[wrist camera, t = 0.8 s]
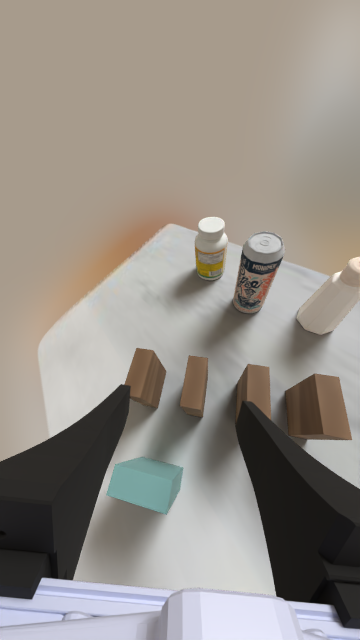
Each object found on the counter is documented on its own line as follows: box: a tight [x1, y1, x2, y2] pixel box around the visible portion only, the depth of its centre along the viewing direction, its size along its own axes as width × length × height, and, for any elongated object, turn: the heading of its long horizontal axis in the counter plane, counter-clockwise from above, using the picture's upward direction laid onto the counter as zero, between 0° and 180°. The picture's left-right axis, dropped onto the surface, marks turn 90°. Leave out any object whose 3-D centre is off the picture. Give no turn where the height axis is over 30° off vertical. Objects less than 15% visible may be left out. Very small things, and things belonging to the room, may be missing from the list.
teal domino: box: [106, 457, 183, 515], centre depth 19 cm, size 2×5×8 cm, turn 79°
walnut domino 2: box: [180, 356, 208, 417], centre depth 23 cm, size 2×5×8 cm, turn 169°
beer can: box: [233, 231, 285, 313], centre depth 27 cm, size 5×5×12 cm
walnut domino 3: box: [235, 364, 271, 424], centre depth 21 cm, size 2×5×8 cm, turn 169°
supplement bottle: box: [195, 217, 227, 280], centre depth 33 cm, size 5×5×10 cm
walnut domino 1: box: [125, 348, 166, 408], centre depth 24 cm, size 2×5×8 cm, turn 169°
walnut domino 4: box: [285, 374, 352, 440], centre depth 20 cm, size 2×5×8 cm, turn 169°
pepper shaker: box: [297, 257, 360, 335], centre depth 25 cm, size 5×5×11 cm
